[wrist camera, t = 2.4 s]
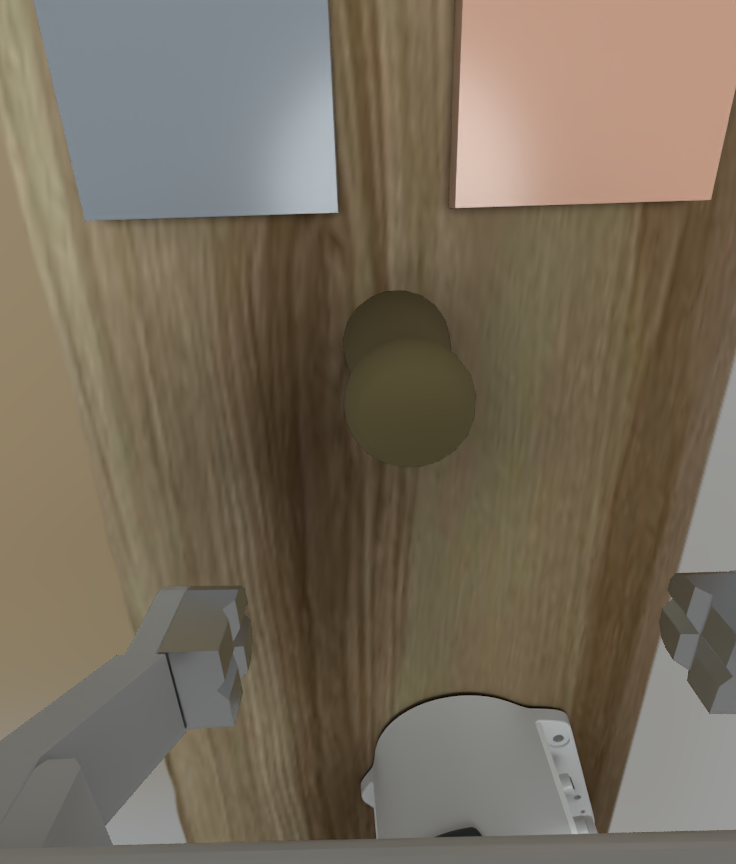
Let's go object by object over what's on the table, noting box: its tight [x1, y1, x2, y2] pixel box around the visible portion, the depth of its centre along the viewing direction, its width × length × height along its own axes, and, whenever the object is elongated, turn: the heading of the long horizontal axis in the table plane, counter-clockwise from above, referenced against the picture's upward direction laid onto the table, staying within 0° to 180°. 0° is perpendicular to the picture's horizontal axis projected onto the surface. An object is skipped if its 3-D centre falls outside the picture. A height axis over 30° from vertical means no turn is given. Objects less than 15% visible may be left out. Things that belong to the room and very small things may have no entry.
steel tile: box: [33, 0, 340, 221], centre depth 23 cm, size 12×12×2 cm
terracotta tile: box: [449, 0, 736, 208], centre depth 23 cm, size 12×12×2 cm
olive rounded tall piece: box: [343, 291, 476, 467], centre depth 24 cm, size 6×6×11 cm
